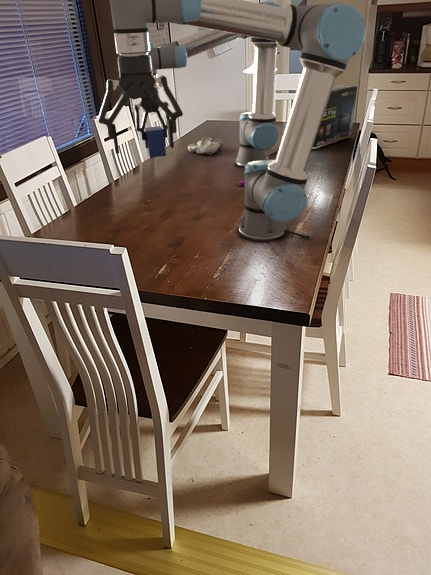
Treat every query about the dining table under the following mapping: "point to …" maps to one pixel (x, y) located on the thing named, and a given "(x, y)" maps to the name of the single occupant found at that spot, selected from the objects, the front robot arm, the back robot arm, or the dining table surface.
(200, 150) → the fossil
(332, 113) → the router box
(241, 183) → the handgun
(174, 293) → the dining table surface
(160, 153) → the block
